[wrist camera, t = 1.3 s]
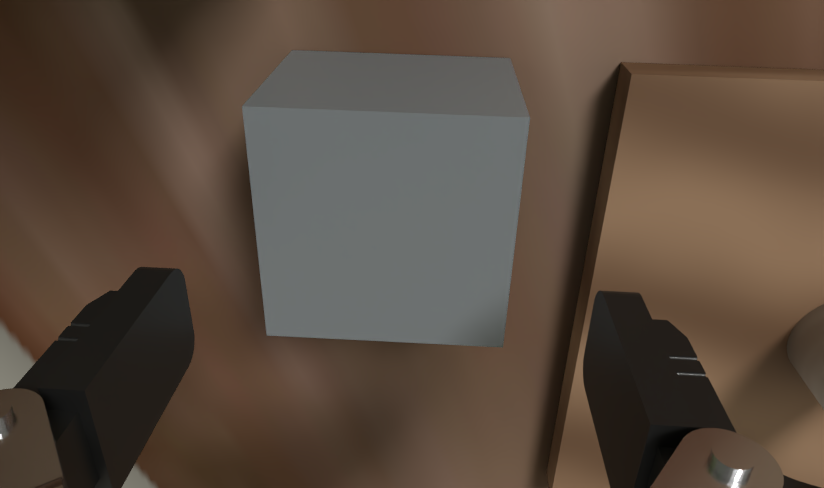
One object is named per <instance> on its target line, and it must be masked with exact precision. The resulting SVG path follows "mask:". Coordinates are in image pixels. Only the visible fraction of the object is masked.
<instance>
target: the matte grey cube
mask: <svg viewBox="0 0 824 488" xmlns="http://www.w3.org/2000/svg"><path fill="white" fill-rule="evenodd" d="M242 110H243V119H244V129H245V138H246V147H247V157H248V166H249V175H250V185H251V194H252V203H253V213H254V222H255V231H256V241H257V250H258V259H259V268H260V278H261V287H262V296H263V306H264V315H265V324H266V334H267V335H269V336H288V337H308V338H328V339H348V340H367V341H387V342H407V343H427V344H446V345H466V346H486V347H503V341H504V333H505V324H506V316H507V307H508V299H509V290H510V282H511V273H512V265H513V256H514V248H515V240H516V231H517V223H518V214H519V206H520V197H521V189H522V180H523V172H524V163H525V155H526V146H527V138H528V130H529V121H530V116H529V113H528V110H527V107H526V104H525V101H524V98H523V95H522V92H521V89H520V86H519V83H518V80H517V77H516V74H515V71H514V68H513V65H512V62H511V59H510V58H491V57H464V56H437V55H409V54H382V53H355V52H328V51H301V50H292V51H291V52H290V53H289V54H288V55H287V56H286V58H285V59H284V60H283V61H282V62H281V63H280V64H279V65H278V67H277V68H276V69H275V70H274V71H273V72H272V73H271V74H270V76H269V77H268V78H267V79H266V80H265V81H264V82H263V83H262V85H261V86H260V87H259V88H258V89H257V90H256V91H255V92H254V93H253V95H252V96H251V97H250V98H249V99H248V100H247V101H246V102H245V104H244V105H243V106H242Z"/></svg>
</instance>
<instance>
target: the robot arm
mask: <svg viewBox="0 0 824 488" xmlns="http://www.w3.org/2000/svg"><path fill="white" fill-rule="evenodd" d="M193 350H194V330H193V325H192V319H191V313H190V307H189V301H188V295H187V290H186V284H185V279H184V275H183V273H182V272H181V270H179V269H172V268H152V267H139V268H137V269H136V270H135V271H134V272H133V274H132V275H131V276H130V277H129V278H128V280H127V281H126V282H125V283H124V284H123V286H122V287H121V288H120V289H119V290H118V291H109V292H107V293H106V294H104V295H102V296H101V297H99V298H97V299H96V300H94V301H92V302H91V303H89V304H88V305H86V306H85V307H84V308H83V310H82V311H81V312H80V313H79V314H78V315H77V316H76V318H75V319H74V320H73V321H72V322H71V326H68V327H67V328H66V329H65V330H64V331H63V332H62V333H61V335H60V336H59V339H58V341H54V343H53V344H52V345H51V346H50V347H49V348H48V349H47V350H46V352H45V353H44V354H43V355H42V356H41V357H40V358H39V360H38V361H37V362H36V363H35V364H34V365H33V366H32V368H31V369H30V370H29V371H28V372H27V373H26V374H25V375H24V377H23V378H22V379H21V380H20V381H19V382H18V383H17V385H16V386H15V387H14V388H12V389H3V390H0V488H121V487H122V486H123V484H124V482H125V480H126V478H127V477H128V475H129V473H130V471H131V469H132V468H133V466H134V464H135V462H136V460H137V459H138V457H139V455H140V453H141V451H142V450H143V448H144V446H145V444H146V442H147V440H148V439H149V437H150V435H151V433H152V431H153V430H154V428H155V426H156V424H157V422H158V421H159V419H160V417H161V415H162V413H163V412H164V410H165V408H166V406H167V404H168V403H169V401H170V399H171V397H172V395H173V394H174V392H175V390H176V388H177V386H178V385H179V383H180V381H181V379H182V377H183V376H184V374H185V372H186V370H187V368H188V367H189V364H190V362H191V359H192V355H193ZM583 381H584V388H585V392H586V396H587V400H588V404H589V407H590V411H591V415H592V419H593V423H594V427H595V431H596V434H597V438H598V442H599V446H600V450H601V454H602V458H603V461H604V465H605V469H606V473H607V477H608V481H609V485H610V488H821V487H817V486H814V485H811V484H807V483H804V482H801V481H798V480H795V479H792V478H790V477H787V476H785V475H783V473H782V470H781V468H780V466H779V464H778V463H777V461H776V460H775V459H774V457H773V456H772V455H771V454H770V453H769V452H768V451H767V450H766V449H764V448H763V447H762V446H761V445H759V444H758V443H756V442H755V441H753V440H751V439H749V438H747V437H745V436H743V435H741V434H738V433H736V431H735V429H734V427H733V425H732V423H731V421H730V419H729V417H728V415H727V413H726V411H725V409H724V407H723V405H722V403H721V402H720V400H719V398H718V396H717V394H716V392H715V390H714V388H713V386H712V384H711V382H710V380H709V378H708V377H706V372H705V371H704V369H703V367H702V365H701V363H700V361H697V355H696V353H695V351H694V349H693V347H692V345H691V343H690V342H689V340H688V338H687V337H686V336H685V335H684V334H683V333H682V332H681V331H679V330H678V329H677V328H676V327H675V326H674V325H673V324H671V323H670V322H669V321H668V320H657V319H652V318H651V315H650V313H649V311H648V309H647V307H646V305H645V302H644V300H643V298H642V296H641V294H640V293H638V292H620V291H598V292H597V294H596V296H595V299H594V304H593V309H592V315H591V320H590V325H589V331H588V336H587V341H586V347H585V352H584V359H583Z"/></svg>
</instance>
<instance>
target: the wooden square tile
mask: <svg viewBox="0 0 824 488" xmlns="http://www.w3.org/2000/svg"><path fill="white" fill-rule="evenodd" d="M598 291H620V292H638V293H640V294H641V296H642V298H643V300H644V302H645V305H646V307H647V309H648V311H649V313H650V315H651V318H652V319H657V320H668V321H669V322H670V323H671V324H673V325H674V326H675V327H676V328H677V329H678V330H679V331H681V332H682V333H683V334H684V335H685V336H686V337H687V338H688V340H689V342H690V343H691V345H692V347H693V349H694V351H695V353H696V355H697V361H700V363H701V365H702V367H703V369H704V371H705V372H706V377H708V378H709V380H710V382H711V384H712V386H713V388H714V390H715V392H716V394H717V396H718V398H719V400H720V402H721V403H722V405H723V407H724V409H725V411H726V413H727V415H728V417H729V419H730V421H731V423H732V425H733V427H734V429H735V431H736V433H738V434H741V435H743V436H745V437H747V438H749V439H751V440H753V441H755V442H756V443H758V444H759V445H761V446H762V447H763V448H764V449H766V450H767V451H768V452H769V453H770V454H771V455H772V456H773V457H774V459H775V460H776V461H777V463H778V464H779V466H780V468H781V470H782V473H783V475H785V476H787V477H790V478H792V479H795V480H798V481H801V482H804V483H807V484H811V485H814V486H817V487H821V488H824V70H815V69H788V68H761V67H734V66H707V65H680V64H652V63H625V62H621V65H620V71H619V76H618V82H617V87H616V93H615V98H614V104H613V109H612V115H611V120H610V126H609V131H608V137H607V142H606V148H605V153H604V159H603V164H602V170H601V175H600V181H599V186H598V192H597V197H596V203H595V208H594V214H593V219H592V225H591V230H590V236H589V241H588V247H587V252H586V258H585V263H584V269H583V274H582V280H581V285H580V291H579V296H578V302H577V307H576V313H575V318H574V324H573V329H572V335H571V340H570V346H569V351H568V357H567V362H566V368H565V373H564V379H563V384H562V390H561V395H560V401H559V406H558V412H557V417H556V423H555V428H554V434H553V439H552V445H551V450H550V456H549V461H548V467H547V478H548V484H549V488H610V485H609V481H608V477H607V473H606V469H605V465H604V461H603V458H602V454H601V450H600V446H599V442H598V438H597V434H596V431H595V427H594V423H593V419H592V415H591V411H590V407H589V404H588V400H587V396H586V392H585V388H584V381H583V359H584V352H585V347H586V341H587V336H588V331H589V325H590V320H591V315H592V309H593V304H594V299H595V296H596V294H597V292H598Z"/></svg>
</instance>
